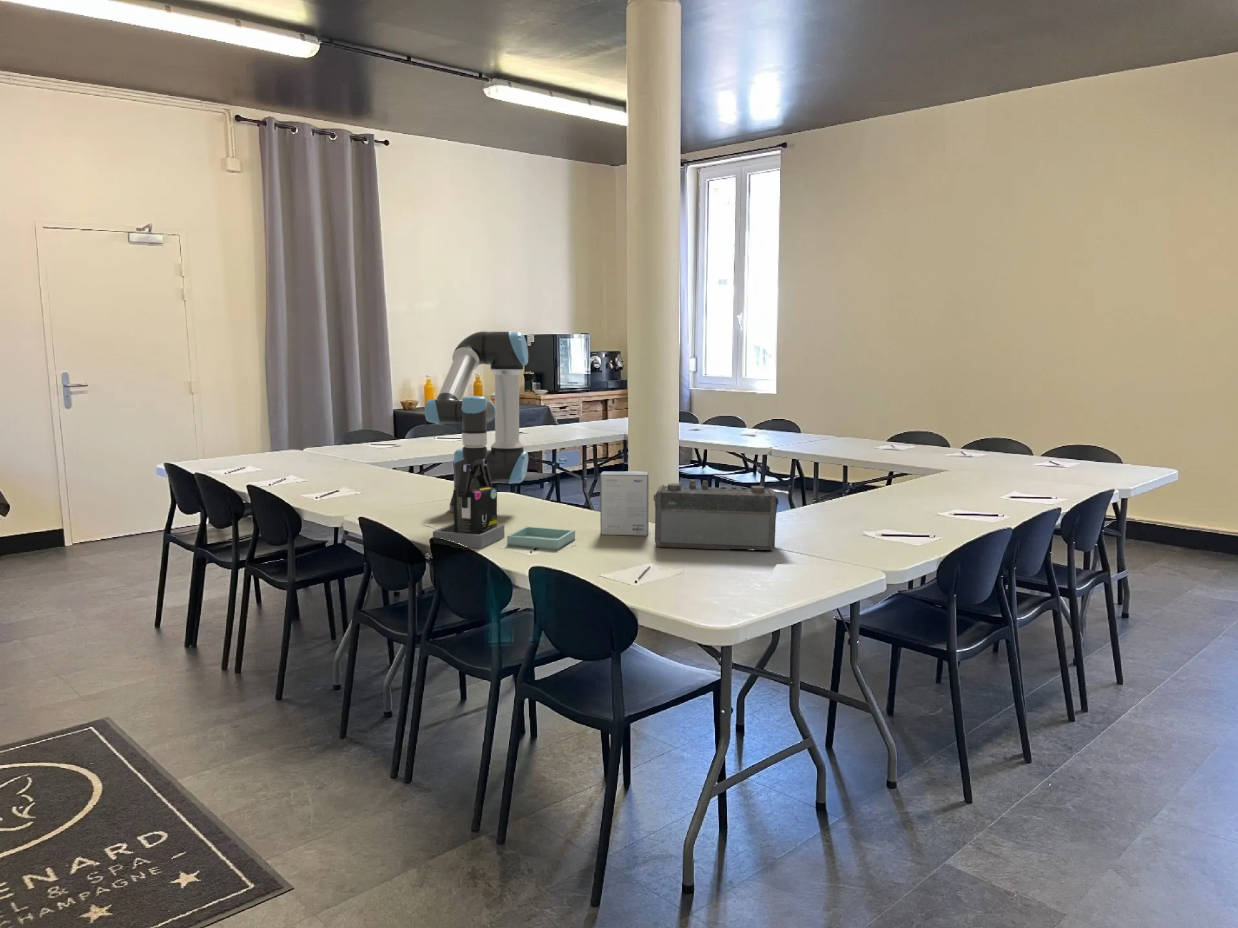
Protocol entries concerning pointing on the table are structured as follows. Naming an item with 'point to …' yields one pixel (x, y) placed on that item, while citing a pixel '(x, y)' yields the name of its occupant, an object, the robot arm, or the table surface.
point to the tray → (541, 538)
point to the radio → (715, 517)
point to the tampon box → (476, 511)
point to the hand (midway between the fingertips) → (475, 514)
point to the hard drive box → (624, 503)
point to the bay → (471, 536)
